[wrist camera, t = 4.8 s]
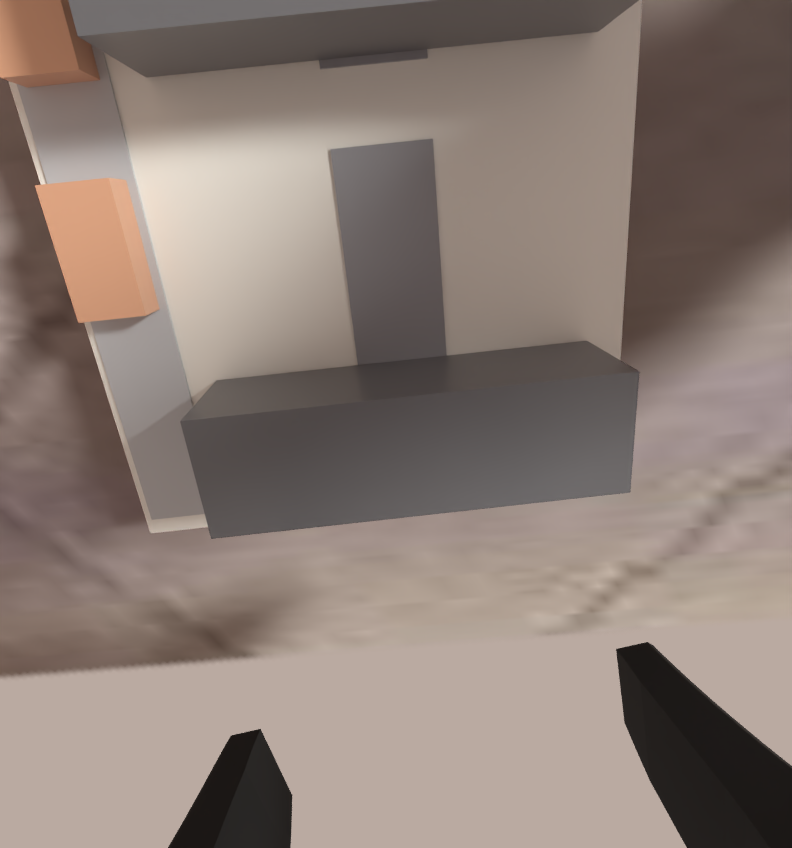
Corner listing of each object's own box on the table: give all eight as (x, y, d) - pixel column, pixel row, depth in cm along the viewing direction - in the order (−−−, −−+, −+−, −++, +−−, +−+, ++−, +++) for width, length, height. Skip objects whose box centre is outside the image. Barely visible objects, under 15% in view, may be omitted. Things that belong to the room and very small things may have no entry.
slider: (586, 340, 14) (639, 371, 12) (583, 442, 16) (629, 492, 13) (216, 380, 14) (180, 421, 12) (239, 479, 15) (211, 538, 13)
